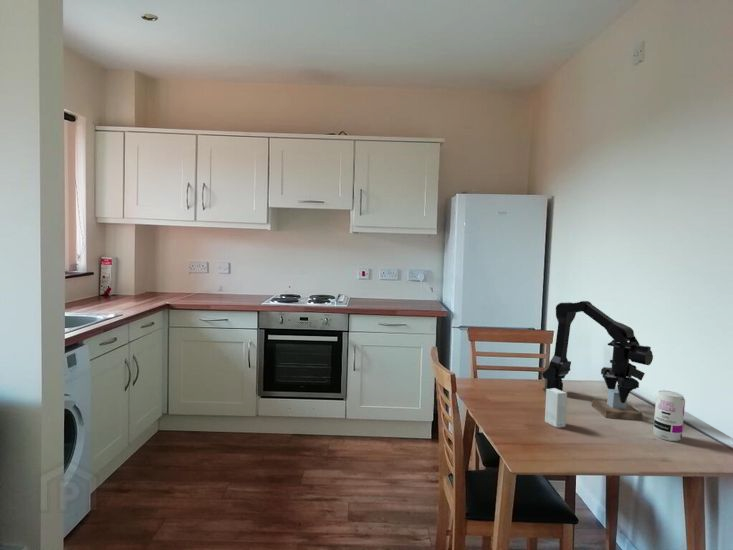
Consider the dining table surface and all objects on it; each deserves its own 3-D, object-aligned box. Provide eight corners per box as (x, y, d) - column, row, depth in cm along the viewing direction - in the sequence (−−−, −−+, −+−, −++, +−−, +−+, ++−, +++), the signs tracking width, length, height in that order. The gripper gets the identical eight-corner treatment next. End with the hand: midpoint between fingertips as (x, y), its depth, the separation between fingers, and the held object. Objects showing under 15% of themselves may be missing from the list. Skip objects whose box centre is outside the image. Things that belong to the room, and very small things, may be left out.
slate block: (612, 408, 180) (613, 392, 179) (606, 403, 184) (608, 388, 184) (626, 409, 179) (627, 393, 179) (620, 404, 184) (621, 389, 184)
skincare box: (566, 427, 164) (568, 393, 163) (555, 428, 162) (558, 393, 162) (553, 420, 170) (556, 387, 169) (543, 421, 168) (545, 388, 167)
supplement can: (677, 434, 162) (681, 392, 161) (684, 443, 154) (688, 399, 153) (650, 430, 165) (654, 388, 164) (656, 439, 157) (660, 395, 156)
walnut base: (605, 417, 176) (606, 411, 176) (591, 405, 189) (592, 399, 189) (641, 420, 175) (642, 413, 175) (625, 408, 188) (625, 402, 188)
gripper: (655, 366, 171) (651, 408, 172) (630, 355, 189) (627, 393, 190) (623, 364, 172) (620, 406, 172) (602, 353, 190) (598, 391, 191)
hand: (617, 399), depth 182 cm, fingers open, 9 cm apart
